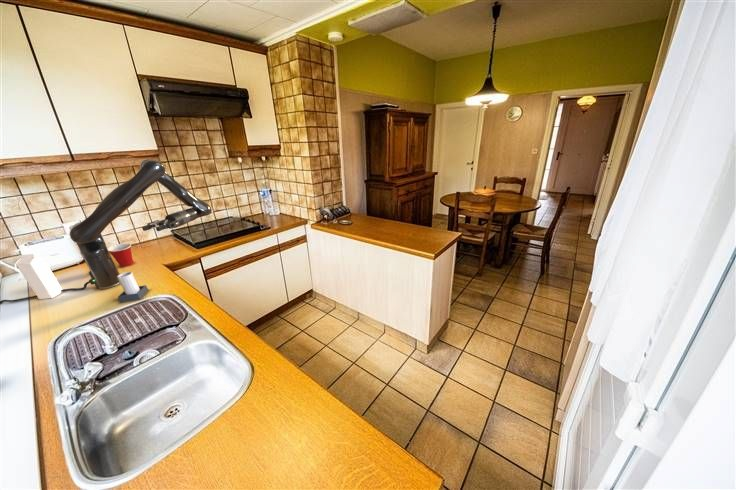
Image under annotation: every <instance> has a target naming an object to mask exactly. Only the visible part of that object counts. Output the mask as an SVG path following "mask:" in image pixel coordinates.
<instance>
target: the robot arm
mask: <svg viewBox="0 0 736 490" xmlns="http://www.w3.org/2000/svg"><path fill="white" fill-rule="evenodd" d="M139 168H140V169H139V170H138V171H137V172H136V173H135V175H133V176H132V177H131V178H130V179H129V180H126V181H125V182H123V183H121V184H119V185H118V186H116V187H115V188H114V189H112V190H110V192H109V193H108V194H107V195H105V197H104V198H103V199H102V200H101V201H100V202H99V204H98V205H97V207H96V208H95V209H94V211H92V213H91V214H89V216H88V217H86V218H85V219H83V220H82V221H78V222H77V223H75V224H73V225H72V227H71V228H70V230H69V238H70V239H71V240H72V241H73V242H74V243H76V244H77V246H78V249H79V253H80V255H81V256H82V258H83V261H84V262H85V264H86V266H87V268H88V270H89V271H88V275H89V276H90V279H88V281H87V282H85V283H84V284H83V287H78V288H77V287H72V288H71V287H70V288H64V289H63V288H62V289H63V290H61V292H62V293H65V292H68V291H69V292H70V291H82V290H86V289H87V286H88V285H89V284H90V285H91V286H92V285H94V286H95V287H96V289H98V290H99V289H100V290H106V289H110V288H113V287H116V286H119V285H121V284H120V282H119V280H118V278H117V276H118V275H120V274H121V273H120V272H119V269H118V268H117V266H116V264H115V261H114V258H113V256H112V255H111V253H110V252H109V251H108V249H107V248H108V246H107V244H106V241H105V239H104V237H103V235H102V233H103V232H104V230H105V229H106V228H107V227H108V226H109V225H110V224H111V223H112V222H113V221H115V220H116V219H118V218H119V217H120V216H121V215H122V214H123V213H124V212H126V211H127V210H128V209H130V207H131V206H132V205H134V204H135V202H136V201H137V200H138V199H139V198H140V197H141V196H142V195H143V194H144V193H145V191H147V189H149V188H151V186H152V185H153V184H155V183H156V182H158V183H159V184H160V185H161V186H163V187H164V188H165V189H166V190H167V191H169V193H171V194H172V195H173V196H174V197H175V198H176V199H177V200H179V201H180V202H181V203H182V204H184V206H186V207H190V208H185V209H183V210H178V211H175V212H172V213H169V214H166V216H165V217H164V218H163V219H160V220H159V219H156V220H153V221H151V222H147V223H146V225H143V226H141V229H142V231H143V232H147V231H149V230H151V229H155V230H156V232H161V231H165V230H171V229H177V228H179V227H181V226H185V225H186V224H189V223H190V222H193V221H196V219H199V218H202V217H206V216H209V215H211V214H212V211H213V210H212V208H211V207H212V206H211V205H210V204H209V203H207V202H206V201H204V200H203V199H200V198H199V197H197V196H195V194H193V193H192V192H191V191H190V190H188V189H187V188H186V187H185V186H183V185H182V184H181V183H179V182H178V181H177V180H176V179H175V178H173V177H172V176H171V175H170V174H169V173H168V172H167V171H166V167H165V166H164V165H163V163H162V162H160V161H159V160H157V159H154V158H144V159H143V160H141V161H140V163H139ZM36 298H38V297H37V295H36V294H35V295H31V296H27V297H22V298H16V299H2V300H0V305H2V304H3V303H17V302H22V301H26V300H30V299H36Z"/></svg>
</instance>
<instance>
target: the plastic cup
mask: <svg viewBox="0 0 736 490" xmlns="http://www.w3.org/2000/svg"><path fill="white" fill-rule="evenodd" d="M107 249H108V251H109V253H110V255H111V257H112V258H113V259H114V260H115V261H116V263H118V265H119V266H120V268H124V267H125V268H126V267H130V266H132V265H133V264H134V260H133V254H132V244H131V243H129V242H127V243H126V242H125V243H118V244H114V245H111V246H109V247H107Z"/></svg>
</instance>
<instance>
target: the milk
mask: <svg viewBox="0 0 736 490" xmlns="http://www.w3.org/2000/svg"><path fill="white" fill-rule="evenodd" d="M19 257H20V259H19V260H18V262H17V263H16V267H17V268H18V270H19V271H20V273H21V274H22V276H23V277H24V278H25V280H26V282H27V284H28V285H29V287H30V288H31V289H32V292H34V294H35V295H37V297H36V298H38V300H45V299H46V300H47V299H53V298H55V297H57V296H58V295H60V294H62V293H63V292H61V290H63V287H62V286H61V284H60V282H59V281H58V278H57V277H56V276H55V274H54V273H53V272H54V271H52V269H51V267H50V266H49V264H48V262H47V261H46V260H45V257H41V256H40V257H39V256H35V254H33V253H31V254H21V255H19Z"/></svg>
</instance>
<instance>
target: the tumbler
mask: <svg viewBox="0 0 736 490" xmlns="http://www.w3.org/2000/svg"><path fill="white" fill-rule="evenodd" d="M119 274H120V275H118V276H117V278H118V280H119V282H120V284H119V285H120V286H121V288H122V290H123V292H125V294H126V295H130V294H136V293H138V292H139V291H140V288H139V286H140V285H139V284H138V281H137V280H136V277H135V275H134V273H133V272H132V271H125V272H121V273H119Z"/></svg>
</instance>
